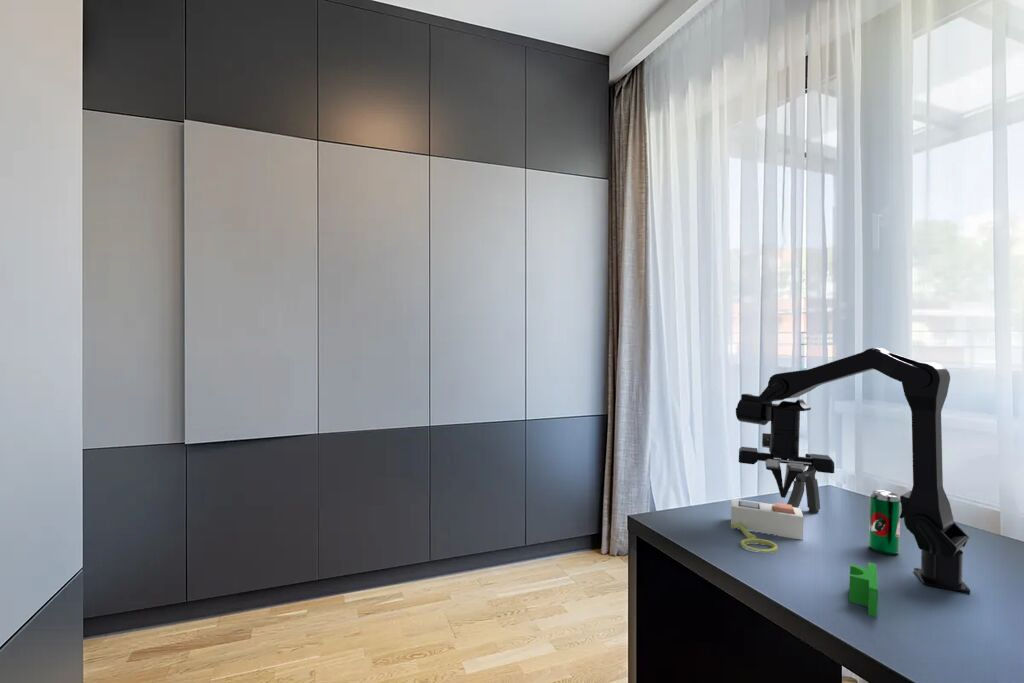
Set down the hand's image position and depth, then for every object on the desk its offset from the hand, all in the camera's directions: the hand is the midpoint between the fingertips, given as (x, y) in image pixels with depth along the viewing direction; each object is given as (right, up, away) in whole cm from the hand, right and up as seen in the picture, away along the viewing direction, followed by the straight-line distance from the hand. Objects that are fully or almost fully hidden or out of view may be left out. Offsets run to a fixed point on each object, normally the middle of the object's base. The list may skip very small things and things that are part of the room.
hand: (782, 497), depth 114 cm
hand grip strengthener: (+11, -8, +11) cm, 17 cm away
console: (-3, -8, +1) cm, 9 cm away
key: (-10, -8, -6) cm, 14 cm away
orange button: (0, -7, 0) cm, 7 cm away
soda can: (+16, -9, -9) cm, 20 cm away
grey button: (-6, -7, +3) cm, 10 cm away
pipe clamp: (-2, -9, -29) cm, 30 cm away
